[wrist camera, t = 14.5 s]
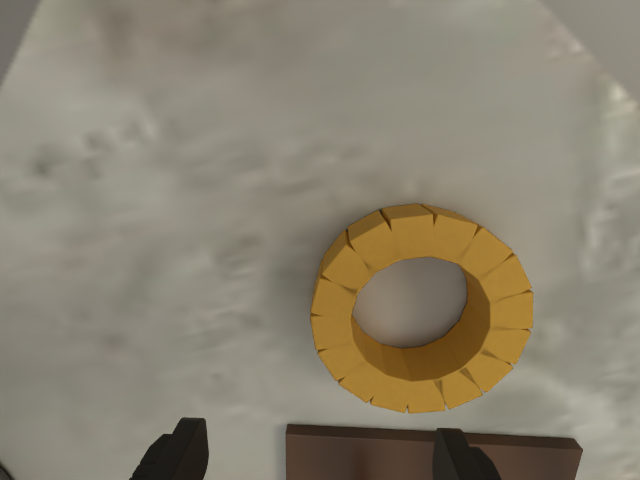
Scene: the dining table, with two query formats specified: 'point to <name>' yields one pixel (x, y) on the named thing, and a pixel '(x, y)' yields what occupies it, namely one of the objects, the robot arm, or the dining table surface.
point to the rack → (417, 454)
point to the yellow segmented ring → (443, 354)
